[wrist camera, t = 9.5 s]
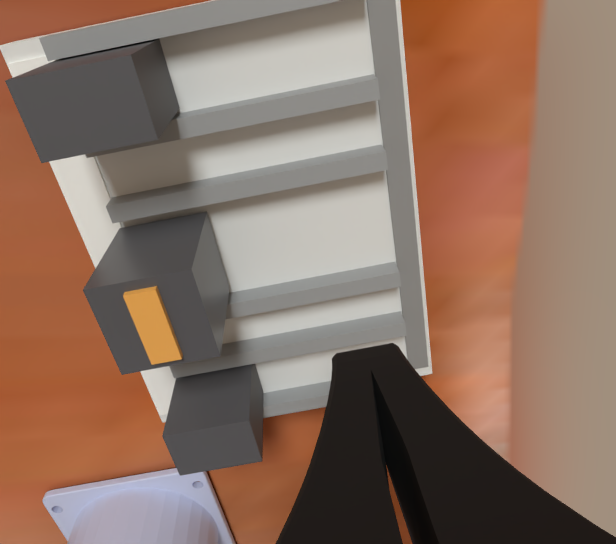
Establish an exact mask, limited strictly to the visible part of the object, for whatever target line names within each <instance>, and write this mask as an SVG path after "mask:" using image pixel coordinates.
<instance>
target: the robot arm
mask: <svg viewBox="0 0 616 544" xmlns="http://www.w3.org/2000/svg"><path fill="white" fill-rule="evenodd" d="M386 465H387V468H388V471H389V474H390V477H391V480H392V483H393V486H394V489H395V492H396V495H397V498H398V501H399V504H400V507H401V510H402V513H403V516H404V519H405V522H406V525H407V528H408V531H409V534H410V537H411V540H412V543H413V544H616V537H614V536H613V535H611V534H609V533H608V532H606V531H604V530H603V529H601V528H600V527H598V526H596V525H595V524H593V523H592V522H590V521H589V520H587V519H586V518H584V517H583V516H581V515H580V514H578V513H577V512H575V511H574V510H573V509H571V508H570V507H568V506H567V505H565V504H564V503H562V502H561V501H559V500H558V499H556V498H555V497H553V496H552V495H550V494H549V493H547V492H546V491H544V490H543V489H542V488H540V487H539V486H538V485H536V484H535V483H534V482H532V481H531V480H530V479H529V478H527V477H526V476H525V475H523V474H522V473H521V472H519V471H518V470H517V469H516V468H514V467H513V466H512V465H511V464H509V463H508V462H507V461H506V460H504V459H503V458H502V457H501V456H500V455H498V454H497V453H496V452H495V451H494V450H493V449H491V448H490V447H489V446H488V445H487V444H486V443H485V442H483V441H482V440H481V439H480V438H479V437H478V436H477V435H476V434H475V433H474V432H473V431H472V430H471V429H469V428H468V427H467V426H466V425H465V424H464V423H463V422H462V421H461V420H460V419H459V418H458V417H457V416H456V415H455V414H454V413H453V412H452V411H451V410H450V409H449V408H448V407H447V406H446V404H445V403H444V402H443V401H442V400H441V399H440V398H439V397H438V396H437V395H436V394H435V393H434V392H433V391H432V389H431V388H430V387H429V386H428V385H427V384H426V382H425V381H424V380H423V379H422V378H421V376H420V375H419V374H418V373H417V372H416V370H415V369H414V368H413V366H412V365H411V364H410V362H409V361H408V360H407V358H406V357H405V355H404V354H403V353H402V351H401V349H400V348H399V346H397V345H396V344H394V343H389V344H383V345H378V346H373V347H367V348H362V349H356V350H351V351H346V352H340V353H336V354H335V355H334V356H333V358H332V376H331V384H330V390H329V396H328V401H327V406H326V410H325V414H324V418H323V423H322V427H321V430H320V434H319V437H318V440H317V443H316V447H315V450H314V453H313V456H312V459H311V463H310V465H309V468H308V471H307V474H306V476H305V479H304V482H303V484H302V487H301V489H300V492H299V494H298V496H297V499H296V501H295V504H294V506H293V508H292V511H291V513H290V515H289V517H288V519H287V521H286V523H285V525H284V527H283V530H282V532H281V534H280V536H279V538H278V540H277V542H276V544H403V543H402V539H401V535H400V531H399V527H398V523H397V519H396V515H395V511H394V507H393V504H392V500H391V496H390V491H389V484H388V476H387V469H386ZM197 481H200V482H197ZM43 504H44V506H45V507H46V509H47V510H48V512H49V513H50V515H51V516H52V518H53V519H54V521H55V522H56V524H57V526H58V527H59V529H60V530H61V532H62V533H63V535H64V536H65V538H66V539H67V541H68V543H67V544H236V543H235V541H234V538H233V536H232V534H231V531H230V529H229V526H228V524H227V521H226V519H225V516H224V514H223V511H222V509H221V506H220V504H219V501H218V499H217V496H216V494H215V491H214V489H213V487H212V484H211V482H210V479H209V477H208V474H207V472H206V471H204V472H198V473H193V474H187V475H182V476H180V475H179V473H178V470H177V468H173V469H167V470H161V471H156V472H150V473H144V474H139V475H133V476H128V477H122V478H116V479H111V480H105V481H99V482H94V483H88V484H82V485H77V486H71V487H66V488H60V489H54V490H50V491H48V492H46V493H45V496H44V498H43Z"/></svg>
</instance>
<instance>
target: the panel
mask: <svg viewBox="0 0 616 544" xmlns="http://www.w3.org/2000/svg"><path fill="white" fill-rule="evenodd" d="M0 50H1V52H2V54H3V57H4V59H5V61H6V64H7V66H8V68H9V70H10V73H11V75H12V77H13V78H11V79H8V80H6V81H5V82H6V84H7V86H8V88H9V91H10V93H11V95H12V97H13V100H14V102H15V104H16V106H17V109H18V111H19V113H20V115H21V118H22V120H23V122H24V124H25V127H26V129H27V131H28V133H29V136H30V138H31V140H32V143H33V145H34V147H35V149H36V152H37V154H38V156H39V158H40V161H41V163H44V162H50V165H51V167H52V169H53V172H54V174H55V176H56V179H57V181H58V183H59V185H60V188H61V190H62V192H63V195H64V197H65V199H66V202H67V204H68V206H69V208H70V211H71V213H72V215H73V218H74V220H75V222H76V225H77V227H78V229H79V232H80V234H81V236H82V238H83V241H84V243H85V245H86V248H87V250H88V252H89V255H90V257H91V259H92V261H93V264H94V266H95V268H96V267H97V265H98V264H99V262H100V260H101V259H102V257H103V255H104V254H105V252H106V250H107V249H108V247H109V245H110V244H111V242H112V240H113V239H114V237H115V235H116V233H117V232H118V230H119V228H124V227H129V226H134V225H139V224H144V223H150V222H155V221H160V220H165V219H170V218H175V217H180V216H186V215H191V214H196V213H201V212H206V211H207V213H208V216H209V219H210V223H211V226H212V230H213V233H214V236H215V240H216V243H217V246H218V250H219V253H220V256H221V260H222V263H223V266H224V270H225V273H226V277H227V280H228V283H229V287H230V288H229V296H228V304H227V311H226V319H225V327H224V334H223V342H222V349H221V357H215V358H210V359H204V360H199V361H193V362H188V363H183V364H177V365H172V366H166V367H161V368H156V369H150V370H145V371H140V372H141V374H142V376H143V379H144V381H145V383H146V386H147V388H148V390H149V393H150V395H151V397H152V399H153V402H154V404H155V406H156V409H157V411H158V413H159V416H160V418H161V420H162V422H166V423H165V428H164V432H163V439H164V441H165V443H166V445H167V448H168V450H169V452H170V454H171V457H172V459H173V461H174V464H175V466H176V468H177V470H178V473H179V475H180V476H182V475H187V474H193V473H198V472H204V471H210V470H215V469H221V468H227V467H232V466H238V465H244V464H249V463H255V462H261V461H262V448H263V418H266V417H272V416H277V415H283V414H289V413H294V412H300V411H305V410H311V409H316V408H322V407H326V406H327V401H328V396H329V390H330V384H331V376H332V358H333V356H334V355H335V354H336V353H340V352H346V351H351V350H356V349H362V348H367V347H373V346H378V345H383V344H389V343H394V344H396V345H397V346H399V348H400V349H401V351H402V353H403V354H404V355H405V357H406V358H407V360H408V361H409V362H410V364H411V365H412V366H413V368H414V369H415V370H416V372H417V373H418V374H419V375H420V376H423V375H428V374H432V365H431V353H430V342H429V330H428V319H427V307H426V296H425V284H424V272H423V261H422V249H421V238H420V226H419V215H418V203H417V191H416V180H415V168H414V157H413V145H412V134H411V122H410V110H409V99H408V87H407V76H406V64H405V53H404V41H403V30H402V18H401V6H400V0H211V1H206V2H201V3H196V4H192V5H187V6H182V7H177V8H172V9H168V10H163V11H158V12H153V13H149V14H144V15H139V16H134V17H129V18H125V19H120V20H115V21H110V22H105V23H101V24H96V25H91V26H86V27H81V28H77V29H72V30H67V31H62V32H57V33H53V34H48V35H43V36H38V37H33V38H29V39H24V40H19V41H15V42H11V43H7V44H3V45H0Z"/></svg>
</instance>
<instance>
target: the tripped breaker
mask: <svg viewBox="0 0 616 544" xmlns="http://www.w3.org/2000/svg"><path fill="white" fill-rule="evenodd" d="M229 288H230V287H229V283H228V280H227V277H226V273H225V270H224V266H223V263H222V260H221V256H220V253H219V250H218V246H217V243H216V240H215V236H214V233H213V230H212V226H211V223H210V219H209V216H208V213H207V211H206V212H201V213H196V214H191V215H186V216H180V217H175V218H170V219H165V220H160V221H155V222H150V223H144V224H139V225H134V226H129V227H124V228H119V230H118V232H117V233H116V235H115V237H114V239H113V240H112V242H111V244H110V245H109V247H108V249H107V250H106V252H105V254H104V255H103V257H102V259H101V260H100V262H99V264H98V265H97V267H96V269H95V271H94V272H93V274H92V276H91V277H90V279H89V281H88V282H87V284H86V286H85V287H84V289H83V291H84V293H85V295H86V298H87V300H88V302H89V304H90V306H91V309H92V311H93V313H94V315H95V317H96V319H97V322H98V324H99V326H100V328H101V330H102V333H103V335H104V337H105V339H106V341H107V343H108V346H109V348H110V350H111V352H112V354H113V357H114V359H115V361H116V363H117V365H118V367H119V370H120V372H121V374H122V375H123V374H128V373H134V372H139V371H145V370H150V369H156V368H161V367H166V366H172V365H177V364H183V363H188V362H193V361H199V360H204V359H210V358H215V357H221V349H222V342H223V334H224V327H225V319H226V311H227V304H228V296H229Z"/></svg>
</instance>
